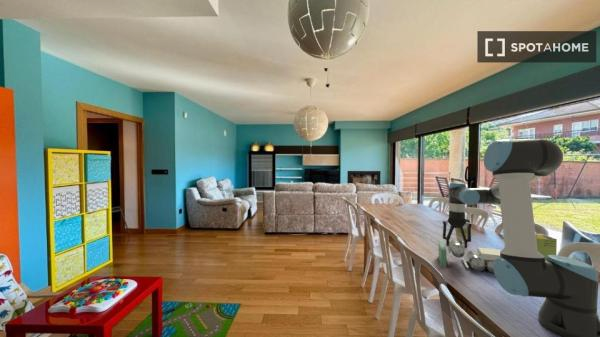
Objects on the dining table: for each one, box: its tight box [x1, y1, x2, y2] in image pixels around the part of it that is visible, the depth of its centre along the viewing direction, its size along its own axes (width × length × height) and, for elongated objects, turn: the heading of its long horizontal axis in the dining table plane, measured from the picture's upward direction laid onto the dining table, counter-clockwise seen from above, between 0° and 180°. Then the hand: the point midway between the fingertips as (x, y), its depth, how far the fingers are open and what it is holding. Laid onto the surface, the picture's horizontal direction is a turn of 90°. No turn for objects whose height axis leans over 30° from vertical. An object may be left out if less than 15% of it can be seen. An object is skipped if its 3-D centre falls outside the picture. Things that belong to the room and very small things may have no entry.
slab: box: [476, 246, 502, 261], centre depth 129 cm, size 10×16×3 cm, turn 66°
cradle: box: [446, 255, 470, 271], centre depth 137 cm, size 14×9×2 cm, turn 156°
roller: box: [450, 239, 466, 259], centre depth 137 cm, size 12×6×6 cm, turn 156°
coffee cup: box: [454, 218, 472, 243], centre depth 177 cm, size 10×10×15 cm
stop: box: [438, 241, 447, 268], centre depth 140 cm, size 14×2×9 cm, turn 156°
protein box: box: [536, 233, 558, 261], centre depth 137 cm, size 10×15×16 cm
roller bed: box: [465, 250, 495, 275], centre depth 131 cm, size 14×21×6 cm, turn 66°
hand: (456, 252), depth 137 cm, fingers closed on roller, 6 cm apart
